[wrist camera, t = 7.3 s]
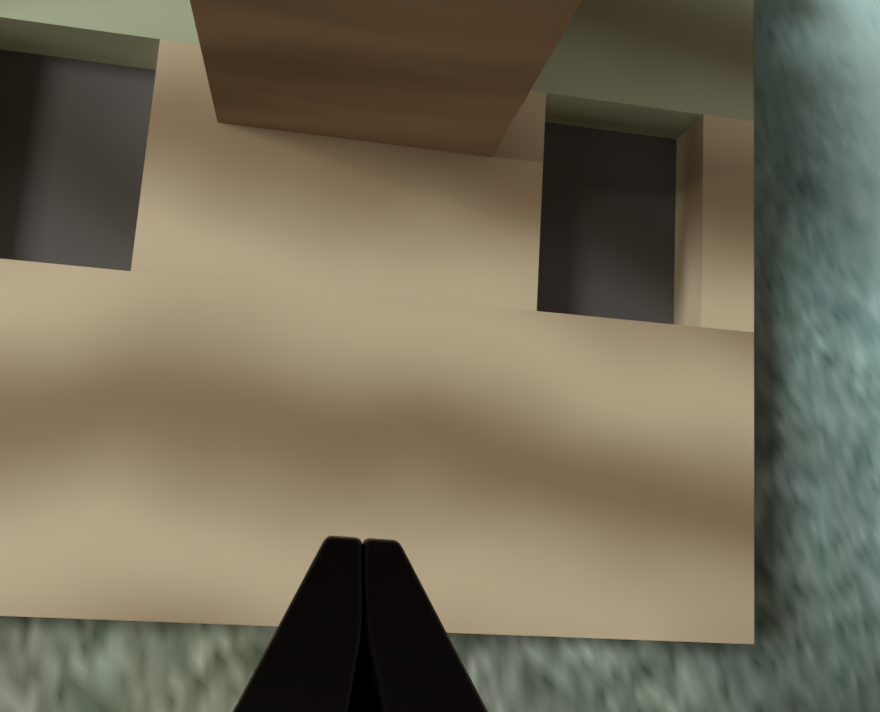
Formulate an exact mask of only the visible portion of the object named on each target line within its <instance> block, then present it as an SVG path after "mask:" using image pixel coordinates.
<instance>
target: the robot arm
mask: <svg viewBox="0 0 880 712" xmlns="http://www.w3.org/2000/svg"><path fill="white" fill-rule="evenodd" d="M233 712H488V711H487V709H486V707H485V705H484V704H483V702H482V700H481V698H480V696H479V694H478V692H477V690H476V688H475V686H474V684H473V682H472V680H471V678H470V677H469V675H468V673H467V671H466V669H465V667H464V665H463V663H462V661H461V659H460V657H459V655H458V653H457V651H456V650H455V648H454V646H453V644H452V642H451V640H450V638H449V636H448V634H447V632H446V630H445V628H444V626H443V625H442V623H441V621H440V619H439V617H438V615H437V613H436V611H435V609H434V607H433V605H432V603H431V601H430V599H429V598H428V596H427V594H426V592H425V590H424V588H423V586H422V584H421V582H420V580H419V578H418V576H417V574H416V572H415V571H414V569H413V567H412V565H411V563H410V561H409V559H408V557H407V555H406V553H405V551H404V549H403V548H402V546H401V544H400V543H399V542H398V541H396V540H391V539H376V538H368V539H365V540H364V541H363V543H362V542H361V540H360V539H359V538H357V537H346V536H328V537H327V538H326V539H325V540H324V541H323V543H322V545H321V546H320V548H319V550H318V552H317V554H316V556H315V558H314V560H313V562H312V563H311V565H310V567H309V569H308V571H307V573H306V575H305V577H304V578H303V580H302V582H301V584H300V586H299V588H298V590H297V592H296V594H295V595H294V597H293V599H292V601H291V603H290V605H289V607H288V609H287V610H286V612H285V614H284V616H283V618H282V620H281V622H280V624H279V626H278V627H277V629H276V631H275V633H274V635H273V637H272V639H271V641H270V642H269V644H268V646H267V648H266V650H265V652H264V654H263V656H262V658H261V659H260V661H259V663H258V665H257V667H256V669H255V671H254V673H253V674H252V676H251V678H250V680H249V682H248V684H247V686H246V688H245V690H244V691H243V693H242V695H241V697H240V699H239V701H238V703H237V705H236V706H235V708H234V710H233Z"/></svg>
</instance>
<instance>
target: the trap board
mask: <svg viewBox="0 0 880 712" xmlns="http://www.w3.org/2000/svg"><path fill="white" fill-rule="evenodd" d="M328 536H346V537H357V538H359V539H360V540H361V542H362V543H363V541H364V540H365V539H368V538H376V539H391V540H396V541H398V542H399V543H400V544H401V546H402V548H403V549H404V551H405V553H406V555H407V557H408V559H409V561H410V563H411V565H412V567H413V569H414V571H415V572H416V574H417V576H418V578H419V580H420V582H421V584H422V586H423V588H424V590H425V592H426V594H427V596H428V598H429V599H430V601H431V603H432V605H433V607H434V609H435V611H436V613H437V615H438V617H439V619H440V621H441V623H442V625H443V626H444V628H445V630H446V632H447V633H468V634H495V635H521V636H548V637H574V638H601V639H627V640H654V641H680V642H707V643H734V644H754V0H582V2H581V4H580V5H579V7H578V9H577V11H576V12H575V14H574V16H573V18H572V19H571V21H570V23H569V24H568V26H567V28H566V30H565V31H564V33H563V35H562V37H561V38H560V40H559V42H558V44H557V45H556V47H555V49H554V50H553V52H552V54H551V56H550V57H549V59H548V61H547V63H546V64H545V66H544V68H543V69H542V71H541V73H540V75H539V76H538V78H537V80H536V82H535V83H534V85H533V87H532V89H531V90H530V92H529V94H528V95H527V97H526V99H525V101H524V102H523V104H522V106H521V108H520V109H519V111H518V113H517V115H516V116H515V118H514V120H513V121H512V123H511V125H510V127H509V128H508V130H507V132H506V134H505V135H504V137H503V139H502V141H501V142H500V144H499V146H498V147H497V149H496V151H495V153H494V154H493V156H492V157H485V156H477V155H469V154H461V153H453V152H445V151H438V150H430V149H422V148H414V147H406V146H398V145H391V144H383V143H375V142H367V141H359V140H351V139H344V138H336V137H328V136H320V135H312V134H304V133H297V132H289V131H281V130H273V129H265V128H257V127H250V126H242V125H234V124H226V123H218V122H217V118H216V113H215V109H214V104H213V100H212V96H211V91H210V87H209V83H208V78H207V74H206V69H205V65H204V61H203V56H202V52H201V48H200V43H199V39H198V34H197V30H196V26H195V21H194V17H193V13H192V8H191V4H190V0H0V616H17V617H43V618H70V619H96V620H123V621H149V622H176V623H202V624H229V625H256V626H279V624H280V622H281V620H282V618H283V616H284V614H285V612H286V610H287V609H288V607H289V605H290V603H291V601H292V599H293V597H294V595H295V594H296V592H297V590H298V588H299V586H300V584H301V582H302V580H303V578H304V577H305V575H306V573H307V571H308V569H309V567H310V565H311V563H312V562H313V560H314V558H315V556H316V554H317V552H318V550H319V548H320V546H321V545H322V543H323V541H324V540H325V539H326V538H327V537H328Z"/></svg>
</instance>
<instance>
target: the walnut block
mask: <svg viewBox="0 0 880 712" xmlns="http://www.w3.org/2000/svg"><path fill="white" fill-rule="evenodd" d="M581 2H582V0H190V4H191V8H192V13H193V17H194V21H195V26H196V30H197V34H198V39H199V43H200V48H201V52H202V56H203V61H204V65H205V69H206V74H207V78H208V83H209V87H210V91H211V96H212V100H213V104H214V109H215V113H216V118H217V122H218V123H226V124H234V125H242V126H250V127H257V128H265V129H273V130H281V131H289V132H297V133H304V134H312V135H320V136H328V137H336V138H344V139H351V140H359V141H367V142H375V143H383V144H391V145H398V146H406V147H414V148H422V149H430V150H438V151H445V152H453V153H461V154H469V155H477V156H485V157H492V156H493V154H494V153H495V151H496V149H497V147H498V146H499V144H500V142H501V141H502V139H503V137H504V135H505V134H506V132H507V130H508V128H509V127H510V125H511V123H512V121H513V120H514V118H515V116H516V115H517V113H518V111H519V109H520V108H521V106H522V104H523V102H524V101H525V99H526V97H527V95H528V94H529V92H530V90H531V89H532V87H533V85H534V83H535V82H536V80H537V78H538V76H539V75H540V73H541V71H542V69H543V68H544V66H545V64H546V63H547V61H548V59H549V57H550V56H551V54H552V52H553V50H554V49H555V47H556V45H557V44H558V42H559V40H560V38H561V37H562V35H563V33H564V31H565V30H566V28H567V26H568V24H569V23H570V21H571V19H572V18H573V16H574V14H575V12H576V11H577V9H578V7H579V5H580V4H581Z"/></svg>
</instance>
